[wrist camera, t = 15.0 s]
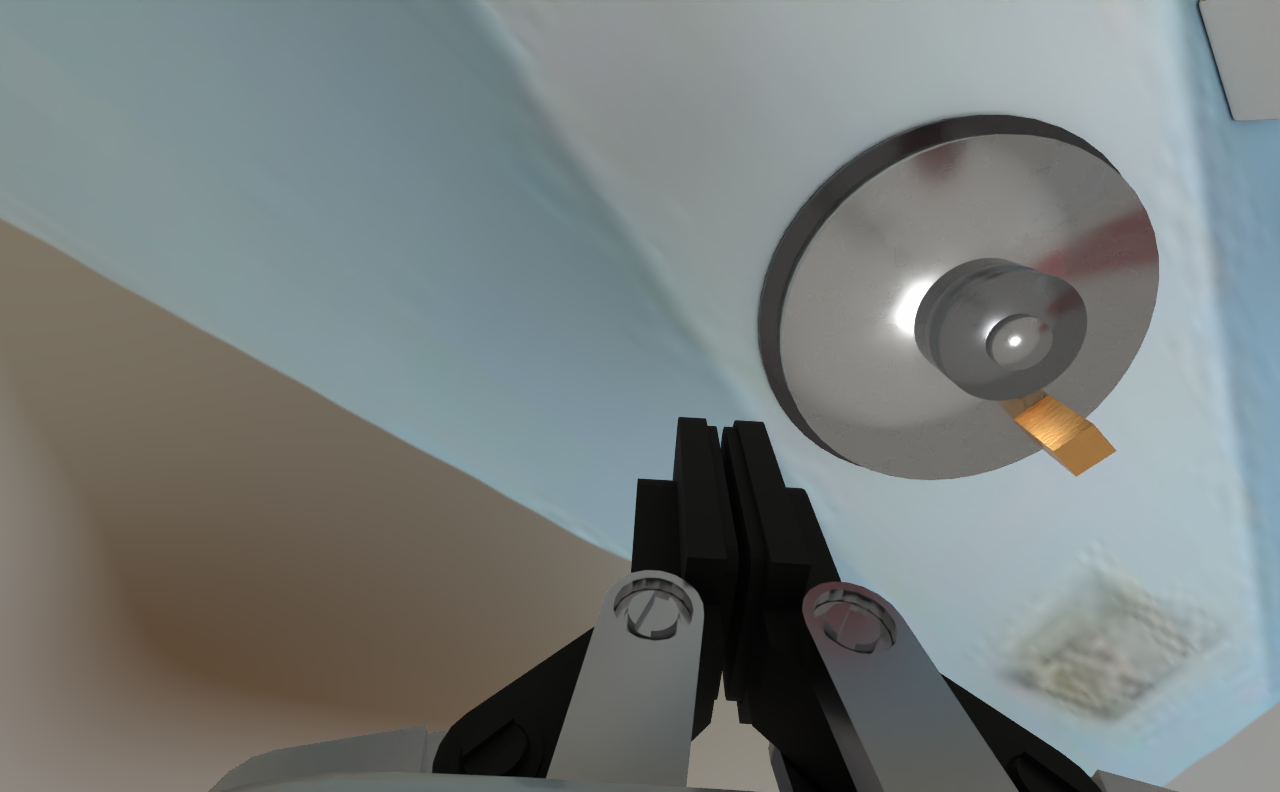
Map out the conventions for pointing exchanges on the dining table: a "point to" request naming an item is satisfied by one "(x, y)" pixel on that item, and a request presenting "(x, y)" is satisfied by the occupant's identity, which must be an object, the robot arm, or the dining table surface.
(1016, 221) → the turntable
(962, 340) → the cover
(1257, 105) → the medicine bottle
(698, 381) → the dining table surface
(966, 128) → the turntable base
